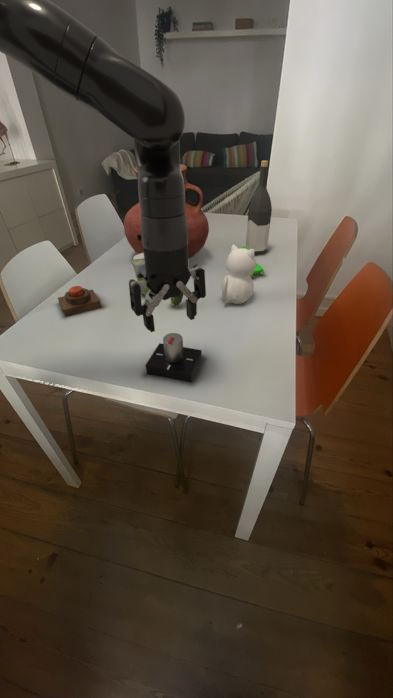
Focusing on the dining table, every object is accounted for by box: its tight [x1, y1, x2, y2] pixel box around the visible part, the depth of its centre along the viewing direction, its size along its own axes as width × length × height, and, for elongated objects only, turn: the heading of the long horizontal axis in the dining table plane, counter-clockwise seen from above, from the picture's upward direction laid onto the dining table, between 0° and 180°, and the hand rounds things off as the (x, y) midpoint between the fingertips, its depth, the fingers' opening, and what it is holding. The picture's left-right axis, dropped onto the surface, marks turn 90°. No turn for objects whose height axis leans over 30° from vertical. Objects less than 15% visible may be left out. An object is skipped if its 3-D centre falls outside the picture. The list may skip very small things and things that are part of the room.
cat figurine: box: [221, 243, 257, 305], centre depth 87 cm, size 9×12×15 cm
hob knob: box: [162, 332, 184, 363], centre depth 66 cm, size 4×4×5 cm
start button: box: [68, 285, 84, 297], centre depth 88 cm, size 4×4×2 cm
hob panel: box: [145, 342, 203, 383], centre depth 69 cm, size 10×8×3 cm
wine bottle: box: [245, 160, 273, 256], centre depth 112 cm, size 8×8×30 cm
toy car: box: [237, 246, 265, 278], centre depth 105 cm, size 11×7×7 cm, turn 28°
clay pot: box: [123, 163, 210, 259], centre depth 109 cm, size 30×29×30 cm
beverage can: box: [131, 253, 149, 296], centre depth 93 cm, size 6×7×12 cm
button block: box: [57, 287, 102, 318], centre depth 90 cm, size 10×8×4 cm
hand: (171, 323), depth 62 cm, fingers open, 8 cm apart
